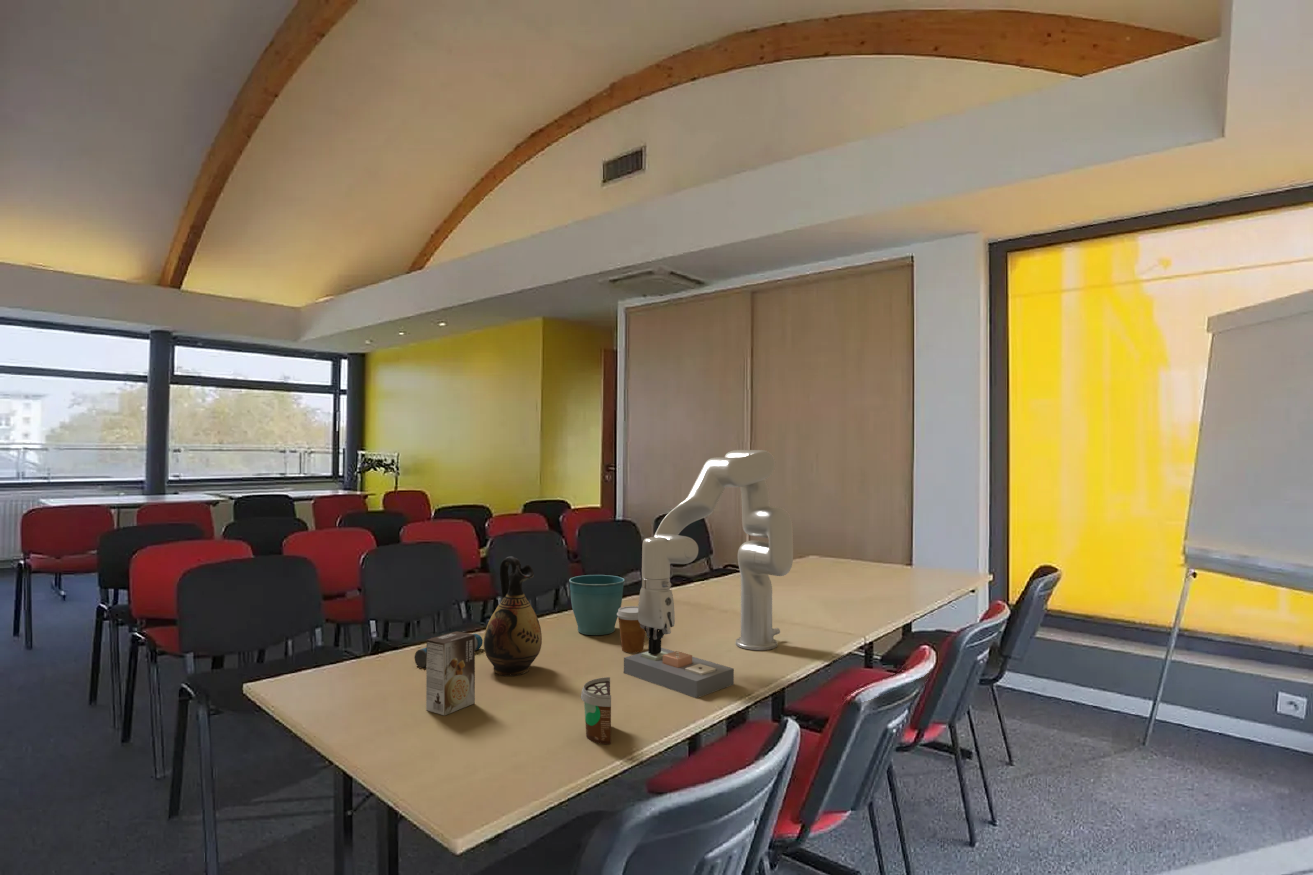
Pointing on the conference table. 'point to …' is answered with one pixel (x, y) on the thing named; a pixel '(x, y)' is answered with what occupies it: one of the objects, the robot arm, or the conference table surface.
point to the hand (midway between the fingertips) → (654, 653)
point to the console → (679, 675)
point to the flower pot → (596, 602)
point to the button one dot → (700, 669)
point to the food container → (597, 710)
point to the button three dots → (677, 659)
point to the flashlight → (421, 654)
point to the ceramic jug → (513, 624)
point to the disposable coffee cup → (630, 630)
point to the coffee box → (450, 672)
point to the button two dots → (654, 656)
